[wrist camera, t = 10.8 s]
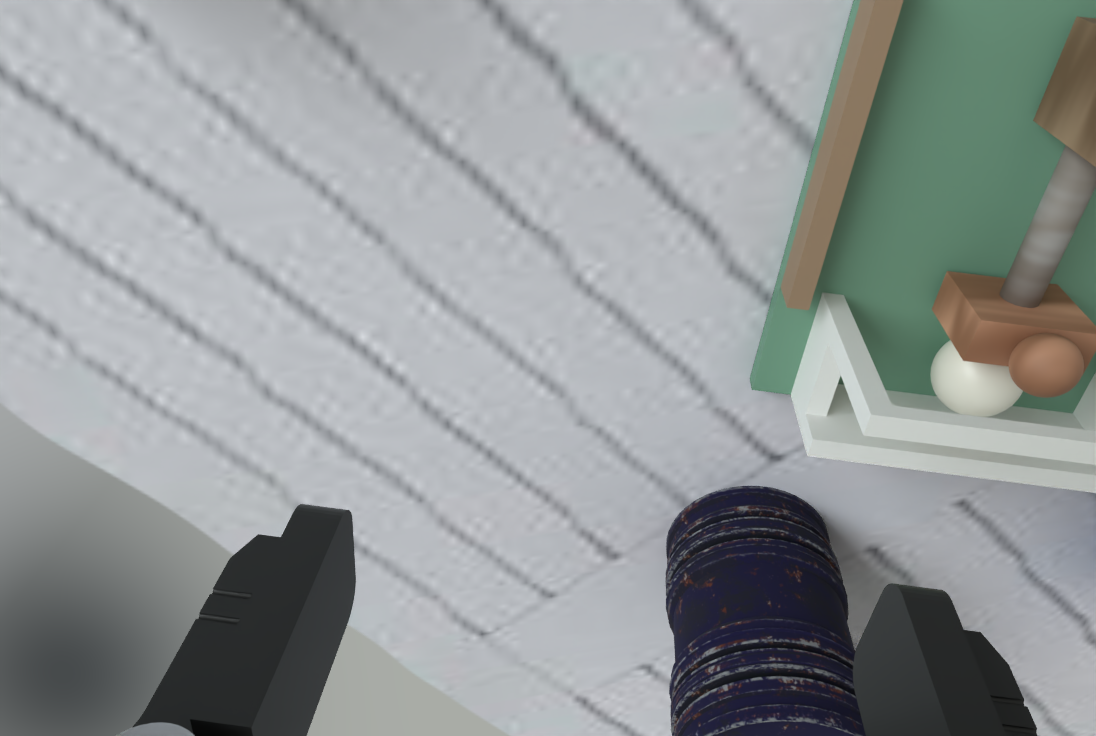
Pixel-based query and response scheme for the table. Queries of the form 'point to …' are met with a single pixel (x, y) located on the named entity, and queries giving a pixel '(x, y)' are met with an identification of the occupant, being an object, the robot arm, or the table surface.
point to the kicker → (1039, 251)
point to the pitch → (926, 240)
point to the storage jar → (758, 620)
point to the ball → (971, 384)
